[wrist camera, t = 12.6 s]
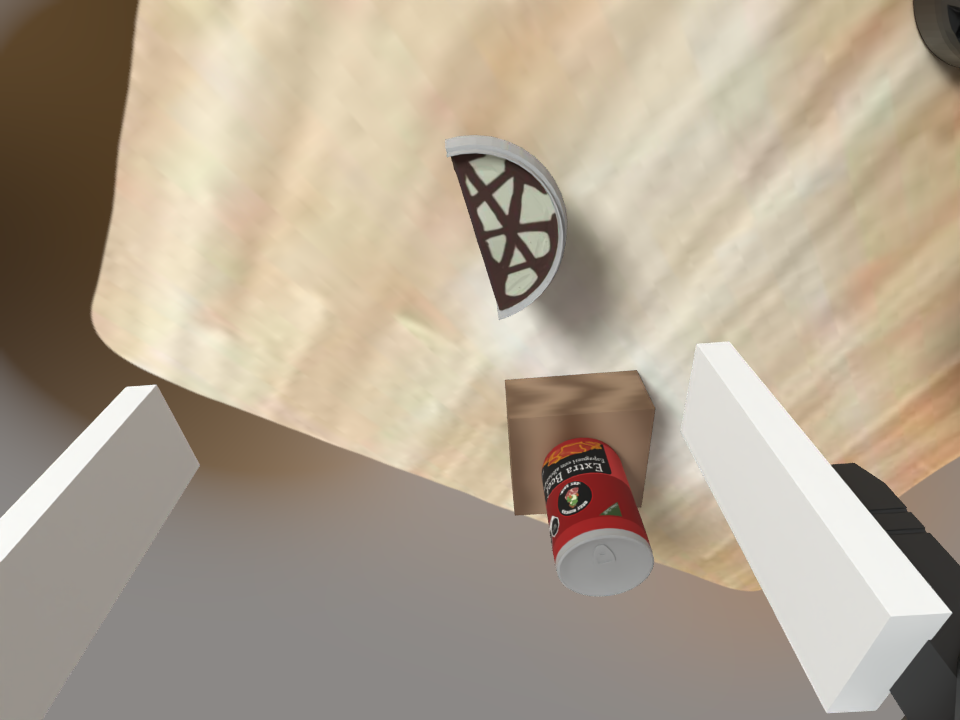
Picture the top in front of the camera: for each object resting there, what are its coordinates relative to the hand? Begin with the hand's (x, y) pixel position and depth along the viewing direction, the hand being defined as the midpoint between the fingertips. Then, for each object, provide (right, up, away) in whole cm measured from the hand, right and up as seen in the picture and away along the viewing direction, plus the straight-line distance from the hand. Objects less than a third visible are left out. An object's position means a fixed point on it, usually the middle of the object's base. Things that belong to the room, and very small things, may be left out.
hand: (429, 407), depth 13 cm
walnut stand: (+11, -6, +41) cm, 43 cm away
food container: (+4, +15, +27) cm, 31 cm away
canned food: (+11, -9, +36) cm, 38 cm away
